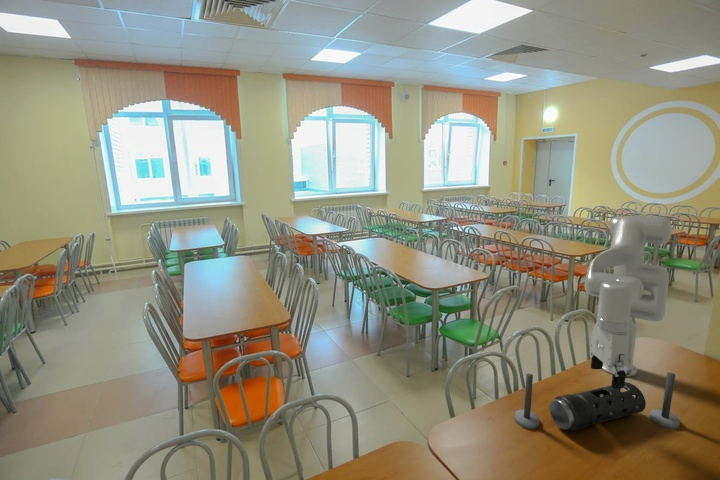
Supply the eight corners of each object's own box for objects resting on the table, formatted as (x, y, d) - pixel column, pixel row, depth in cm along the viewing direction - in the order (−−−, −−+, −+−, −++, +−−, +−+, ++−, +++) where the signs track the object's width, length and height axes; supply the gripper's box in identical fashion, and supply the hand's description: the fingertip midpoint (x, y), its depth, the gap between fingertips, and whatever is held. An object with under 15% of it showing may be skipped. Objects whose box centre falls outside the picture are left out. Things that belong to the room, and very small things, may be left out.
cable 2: (644, 413, 114) (650, 367, 111) (667, 413, 114) (673, 367, 111) (661, 428, 108) (668, 380, 104) (685, 428, 107) (693, 380, 104)
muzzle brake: (644, 422, 111) (648, 392, 109) (570, 442, 104) (573, 410, 102) (615, 403, 120) (619, 375, 118) (546, 420, 113) (548, 391, 111)
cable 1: (511, 413, 116) (513, 369, 113) (533, 413, 116) (536, 368, 113) (519, 429, 109) (522, 381, 106) (543, 429, 109) (546, 381, 106)
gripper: (581, 312, 111) (577, 362, 114) (619, 338, 94) (612, 396, 97) (606, 311, 111) (601, 362, 114) (648, 337, 94) (641, 396, 97)
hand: (606, 377), depth 106 cm, fingers open, 9 cm apart
